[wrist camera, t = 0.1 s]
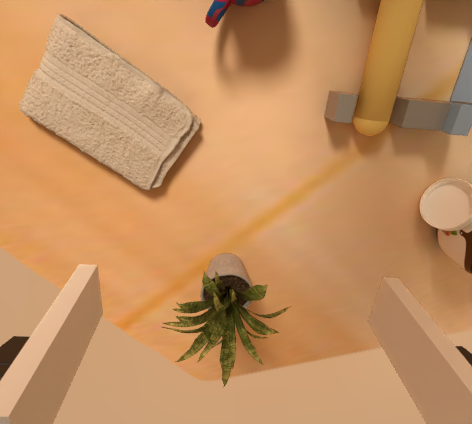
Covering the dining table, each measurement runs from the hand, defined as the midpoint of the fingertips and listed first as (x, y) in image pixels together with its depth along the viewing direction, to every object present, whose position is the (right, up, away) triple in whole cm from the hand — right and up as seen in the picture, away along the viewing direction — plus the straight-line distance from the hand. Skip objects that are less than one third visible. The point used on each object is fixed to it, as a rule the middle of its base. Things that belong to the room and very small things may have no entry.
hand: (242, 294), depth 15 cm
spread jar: (+30, +4, +31) cm, 44 cm away
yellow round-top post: (+16, +23, +21) cm, 35 cm away
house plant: (-1, -3, +33) cm, 33 cm away
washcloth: (-15, +16, +23) cm, 32 cm away
